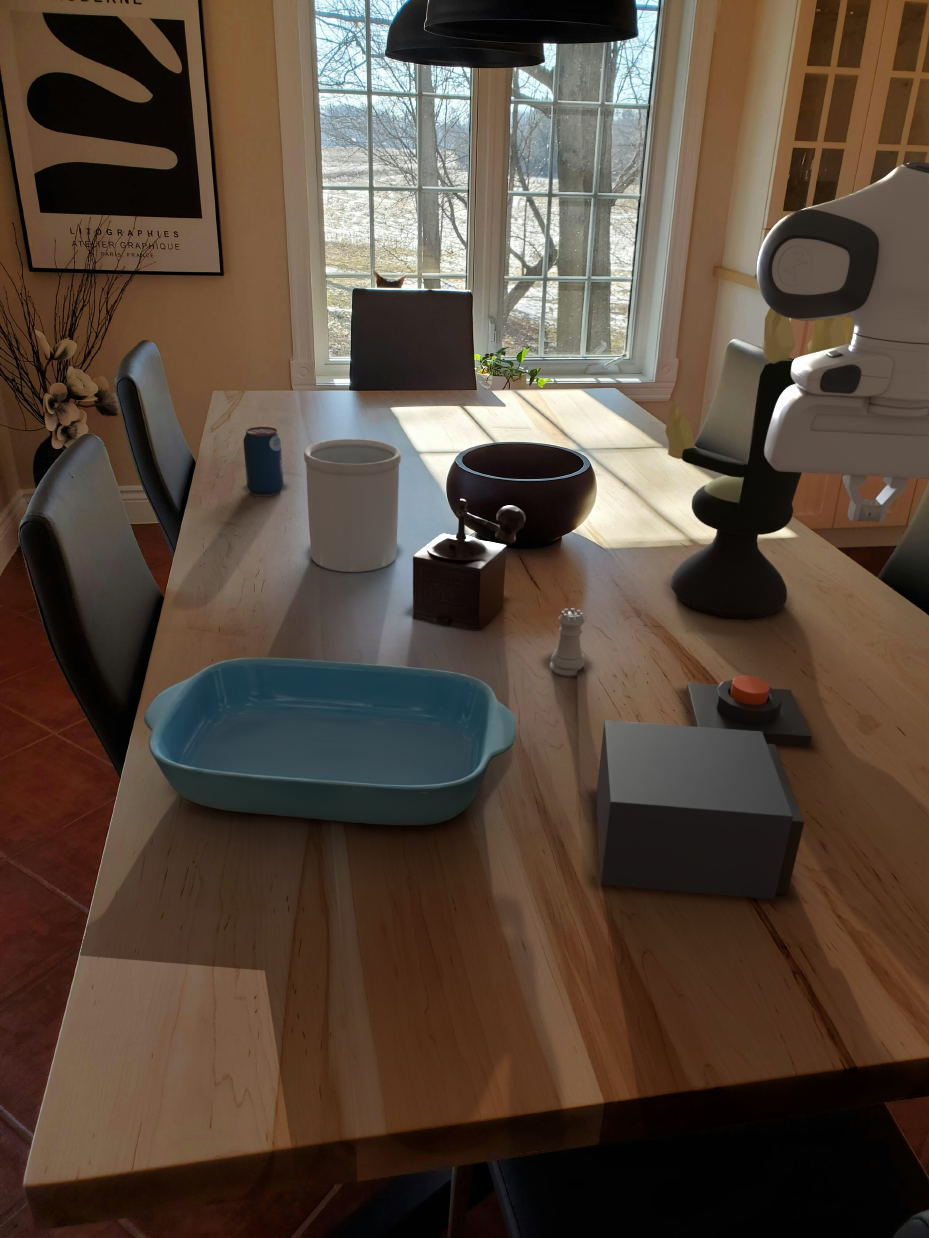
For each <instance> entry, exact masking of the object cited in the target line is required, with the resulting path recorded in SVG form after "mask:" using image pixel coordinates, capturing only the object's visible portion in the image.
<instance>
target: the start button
mask: <svg viewBox="0 0 929 1238" xmlns="http://www.w3.org/2000/svg"><path fill="white" fill-rule="evenodd" d="M732 680H733V682H732V687H731V693H730V696H731V697H732V698H733V699H735V700H736V701H738V702H741V703H744V704H747V705H762V704H766V702H767V699H768V694H769V689H770V687H771V686H770V684H769V683H768V682H767V681H766V680H764V679H763V678H760V677H757V676H755V675H754V676H753V675H738V676H735V677H734V678H733V679H732Z"/></svg>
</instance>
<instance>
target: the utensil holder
mask: <svg viewBox="0 0 929 1238" xmlns="http://www.w3.org/2000/svg"><path fill="white" fill-rule="evenodd" d="M303 459H304V462H305V467H306V490H307V491H306V494H307V511H308V512H307V513H308V516H307V517H308V531H309V543H310V555H311V559H312V561H313V562H314V563H315V564H317V565H318V566H319V567H321V568H324V569H327V570H331V571H335V572H342V573H362V572H370V571H371V572H372V571H375V570H380V569H382V568H385V567H387V566H389V565H391V564H392V563H393V562H394V561H395V560H396V559H397V552H398V551H397V549H398V548H397V547H398V530H399V529H398V526H399V491H400V489H399V488H400V463H401V462H402V461H401V459H402V454H401V451H400V449H399V448H398V447H396V446H395V445H393V444H390V443H387V442H384V441H380V440H374V439H365V438H338V439H328V440H323V441H319V442H315V443H312V444H309V445H308V446H306V447H305V449H304V450H303Z"/></svg>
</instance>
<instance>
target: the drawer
mask: <svg viewBox="0 0 929 1238" xmlns="http://www.w3.org/2000/svg"><path fill="white" fill-rule="evenodd" d="M767 746H768V749H769V752H770V754H771V757H772V760H773V763H774V765H775V768H776V771H777V774H778V776H779V779H780V782H781V785H782V788H783V790H784V793H785V796H786V799H787V801H788V804H789V807H790V810H791V812H792V815H793V819H792V824H791V828H790V833H789V837H788V841H787V846H786V850H785V854H784V859H783V863H782V868H781V872H780V876H779V881H778V885H777V889H776V894H775V895H781V896H787V895H788V893H789V890H790V884H791V881H792V876H793V873H794V868H795V864H796V859H797V856H798V852H799V847H800V842H801V839H802V835H803V831H804V827H805V820H804V817H803V815H802V812H801V809H800V807H799V804H798V801H797V799H796V796H795V793H794V791H793V787H792V785H791V783H790V780H789V777H788V775H787V772H786V769H785V767H784V764H783V761H782V759H781V756H780V754H779V751H778V748H777V745H775V744H767Z"/></svg>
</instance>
